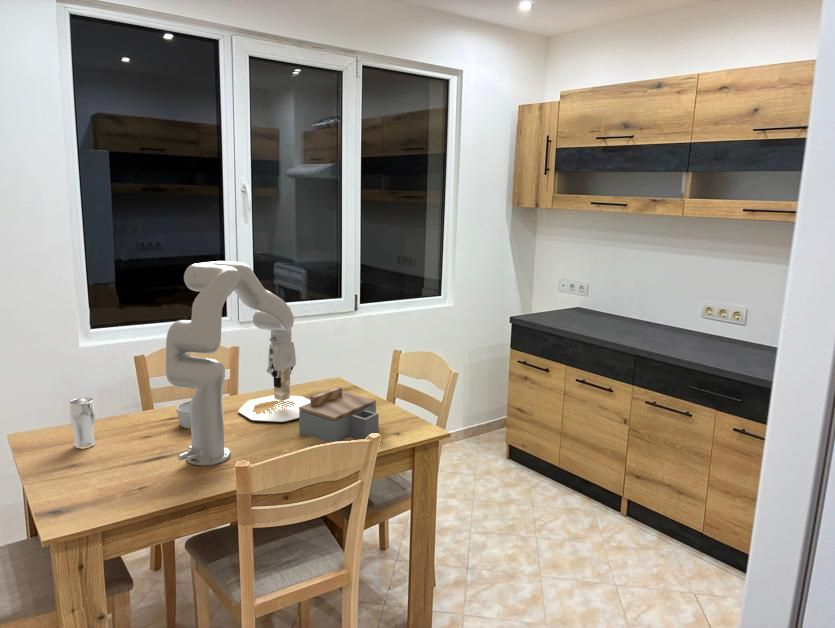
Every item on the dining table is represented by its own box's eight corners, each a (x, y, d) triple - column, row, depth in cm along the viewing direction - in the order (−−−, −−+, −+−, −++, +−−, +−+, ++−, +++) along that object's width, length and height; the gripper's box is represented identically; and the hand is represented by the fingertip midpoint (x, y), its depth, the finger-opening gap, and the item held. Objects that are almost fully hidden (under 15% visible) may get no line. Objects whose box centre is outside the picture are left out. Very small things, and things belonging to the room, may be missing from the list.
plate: (227, 408, 230) (227, 404, 230) (291, 394, 248) (291, 390, 248) (262, 430, 210) (262, 426, 210) (329, 413, 228) (329, 409, 228)
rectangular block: (281, 401, 227) (281, 365, 225) (274, 398, 230) (273, 363, 227) (289, 398, 231) (289, 362, 228) (282, 396, 233) (281, 361, 230)
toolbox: (350, 449, 196) (350, 426, 194) (299, 432, 208) (299, 410, 207) (391, 429, 214) (391, 407, 212) (341, 414, 226) (341, 394, 225)
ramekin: (180, 433, 205) (179, 414, 204) (174, 420, 216) (173, 402, 215) (220, 427, 211) (219, 408, 210) (213, 415, 223) (212, 397, 221)
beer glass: (102, 442, 196) (99, 398, 193) (85, 451, 189) (81, 405, 186) (84, 439, 198) (81, 396, 195) (67, 448, 191) (63, 403, 188)
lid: (334, 420, 198) (334, 409, 197) (299, 409, 207) (299, 398, 206) (375, 402, 216) (376, 391, 215) (341, 393, 225) (341, 383, 224)
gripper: (271, 344, 217) (272, 393, 220) (304, 336, 230) (304, 382, 234) (256, 341, 221) (258, 389, 224) (290, 333, 234) (291, 378, 238)
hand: (281, 385), depth 229 cm, fingers closed on rectangular block, 4 cm apart
